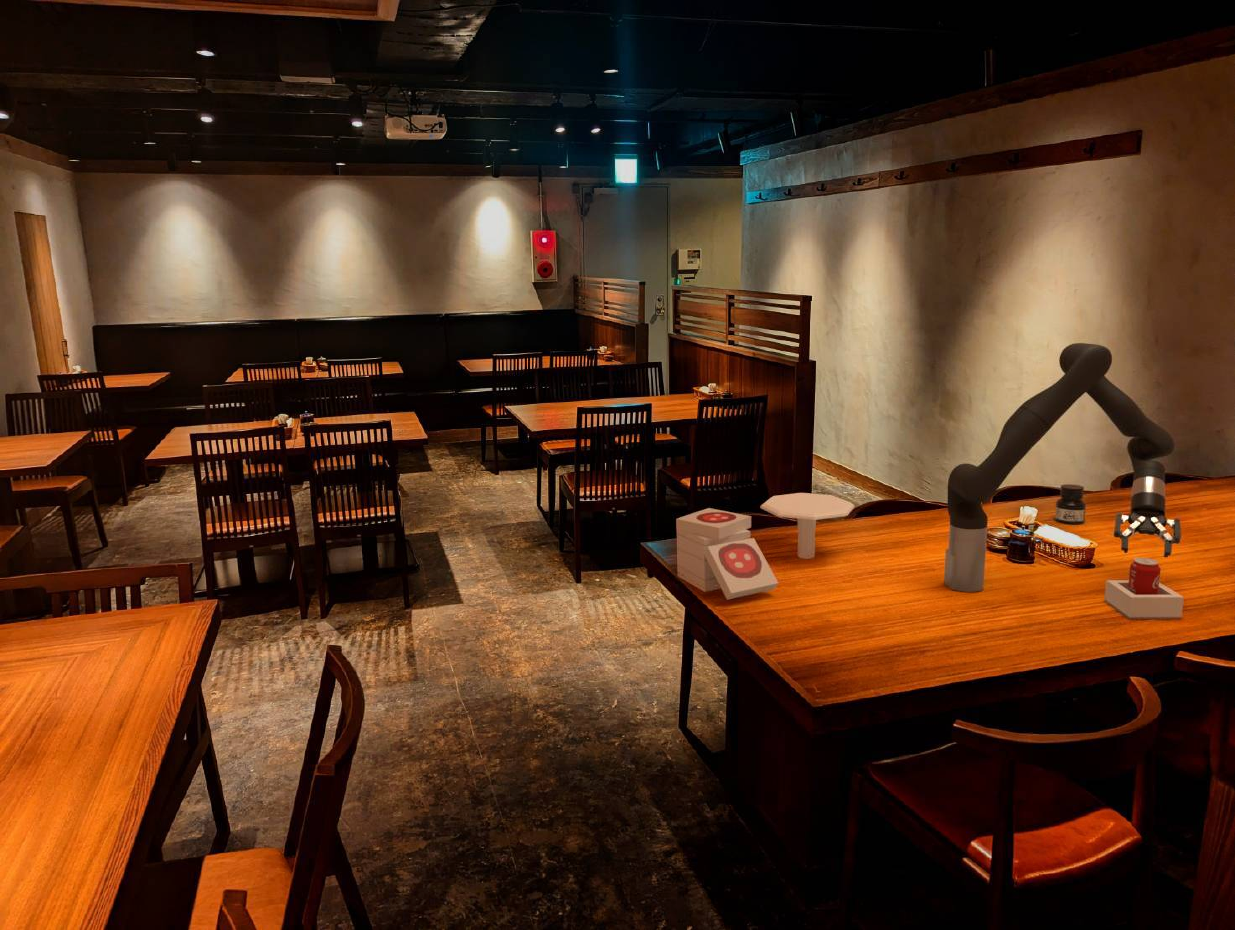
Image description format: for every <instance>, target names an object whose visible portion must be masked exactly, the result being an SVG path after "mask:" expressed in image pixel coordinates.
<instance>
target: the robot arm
mask: <svg viewBox="0 0 1235 930" xmlns="http://www.w3.org/2000/svg"><path fill="white" fill-rule="evenodd" d="M1058 360H1059V362H1058V363H1059V368H1060V369H1061V370H1062V372H1063V373H1064V374H1063V375H1062V376H1061V378H1059V379H1058V380H1057V381H1056V382H1055V383H1053V384H1052V385H1051V386H1049V387H1047V388H1045V389H1044V390H1042V391H1040V392H1039V393H1037V394H1035V395H1033V396H1032V397H1030V398H1028V399H1027V400H1025V401H1024V402H1023V403H1022V404H1021V405H1020V406H1019V407H1018V408H1017V409H1016V410H1015V412H1014V413H1012V414H1011V415H1010V416H1009V418H1008V419H1007V420H1006V422H1005V423H1004V425H1003V427H1002V430H1001V432H1000V435H999V438H998V440H997V444H996V445H995V447H994V449H993V450H992V452H990V454H989V455H988V456H987V457H986V458H985V459H984V460H983V461H982V462H981V463H980V464H979V465H978V466H977V465H975V464H972V463H961V464H960V463H959V464H958V465H957V466H956V465H955V466H954V468H953V469H952V470H951V472H950V474H949V476H948V481H947V504H946V505H947V506H946V507H947V513H948V516H949V532H948V535H949V536H948V547H947V548H946V549H945V555H944V556H945V558H944V573H943V574H944V576H943V583H944V584H945V585H946V586H947V587H948V589H949V590H950V591H959V592H965V593H976V592H980V591H982V590H983V589H984V585H985V569H986V555H987V554H986V551H987V540H988V539H987V538H988V537H987V536H988V535H987V534H988V520H989V518H988V515H987V513H986V512H985V510H984V509H983V506H982V503H984V502H986V501H988V500H989V499H991V497H992V496H994V494H996V492H997V491H998V489H999V488H1000V486H1001V485H1002V483H1003V482H1004V481H1005V480H1006V479H1007V477H1008V476H1009V475H1010V474H1011V472H1012V471H1013V469H1014V468H1015V467H1016V466H1017V465H1018V463H1020V462H1021V461H1022V459H1024V457H1025V456H1026V455H1027V454H1028V453H1029V452H1030V451H1031V450H1032V448H1033V447H1035V445H1037V444H1038V442H1039V441H1040V440H1042V438H1043V437H1044V436H1045V435H1046V434H1047V433H1048V432H1049V431H1050V430H1051V428H1052V427H1053V426H1054V425H1055V424H1056V423H1057V422H1058V421H1059V420H1060V418H1062V417H1063V416H1064V415H1065V414H1066V412H1067V411H1068V410H1069V409H1070V408H1071V407H1072V406H1073V405H1074V404H1075V403H1076V401H1078V399H1080V398H1081V397H1082V396H1084V394H1087V395H1088V396H1089V397H1090V399H1092V400H1093V402H1095V403H1096V404H1097V405H1098V406H1099V407H1100V409H1101V410H1102V411H1103V412H1104V413H1105V414H1106V416H1107V418H1108V419H1110V420H1111V422H1112V423H1113V425H1114V426H1115V427H1116V428H1117V430H1118V431H1119V432H1120V433H1121V434H1122V435H1123V436H1124V437H1128V438H1131V439H1130V440H1128V443H1127V445H1126V449H1127V452H1128V453H1127V454H1128V456H1129V458H1130V459H1129V460H1130V462H1131V465H1132V471H1133V476H1132V477H1133V480H1132V487H1131V491H1130V492H1131V493H1130V514H1129V515H1124V514H1122V512H1117V513H1116V516H1115V523H1114V531H1113V537H1114V538H1120V539H1121V541H1120V542H1121V545H1120V548H1121V549H1120V550H1121V551H1123V554H1125V553H1126V554H1128V552H1129V539H1130V538H1131V537H1132V536H1134V535H1136V533H1139V534H1140V535H1149V536H1155V535H1156V536H1157V537H1158V538H1159V539H1160V540H1162V541H1163V542H1164V546H1163V547H1164V548H1163V558H1168V556H1169V557H1170V556H1171V554H1172V550H1173V544H1176V545H1177V544H1178V545H1179V544H1180V543H1181V539H1182V529H1181V528H1182V527H1181V519H1180V518H1178V517H1176V518H1174V519H1167V517H1166V500H1167V499H1166V496H1167V494H1166V493H1167V491H1166V490H1167V489H1166V484H1165V483H1166V468H1165V466H1164V464H1163V463H1161V462H1160V461H1157V459H1160V458H1164V457H1167V456H1169V455H1171V454H1172V453H1173V452H1174V450H1175V441H1174V439H1173V437H1172V436H1171V434H1170V433H1169V432H1168V431H1167V430H1166V429H1164V428H1163V427H1161V426H1159V424H1157V423H1155V422H1154V421H1153V420H1151V419H1150V418H1148V417H1147V416H1146V415H1145V414H1144V412H1143V410H1142V409H1141V408H1140V407H1139V405H1138V404H1137V403H1136V402H1135V401H1134V399H1132V398H1131V397H1130V396H1129V395H1127V393H1125V392H1124V391H1123V390H1121V389H1120V388H1119V387H1117V386H1116V385H1115V384H1114V383H1112V382H1111V381H1110V380H1109V378H1107V377H1106V375H1107V373H1108V371H1110V370H1109V369H1110V368H1111V366H1112V363H1113V355H1112V351H1111V350H1110V349H1109V348H1107V347H1106V346H1104V345H1100V344H1097V343H1096V344H1095V343H1086V342H1075V343H1072V344H1069V345H1066V346H1065V347H1064V348H1063V349H1062V351H1061V353H1060V355H1059V358H1058ZM1155 459H1156V460H1155ZM1125 522H1128V523H1129V526H1128V527H1127V528H1126V529H1125V530H1124V531H1122V530H1121V527H1122V525H1124V524H1125ZM1166 526H1169V528H1170V529H1171V530H1173V536H1171V534H1170V533H1169V532H1168V530H1167V529H1166V528H1165V527H1166Z"/></svg>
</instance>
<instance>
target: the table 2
mask: <svg viewBox="0 0 1235 930" xmlns="http://www.w3.org/2000/svg"><path fill="white" fill-rule="evenodd" d="M854 508H855V504H853V503H852V502H851V501H848V500H845V499H843V498H841V497H837V496H835V495H831V494H821V493H819V494H818V493H811V492H810V493H808V492H796V493H789V494H788V493H787V494H780V495H773V496H772V497H770V498H769V499H767V500H766V501H765V502H764V503H762V504H761V505H760V509H761V510H763V511H766V512H767V513H770V514H772V515H774V516H776V517H781V518H788V519H789V518H790V519H791V518H792V519H797V532H798V539H797V557H798V558H800V559H806V560H810V559H814V558H815V556H816V554H815V553H816V537H815V536H816V529H817V528H816V526H817V520H823V519H832V518H840V517H847V516H849V514H850V513H851V512H852V511H853V510H854ZM799 553H800V554H801V555H800V554H799ZM813 554H814V555H813ZM806 555H807V556H806ZM808 555H809V556H808Z"/></svg>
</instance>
